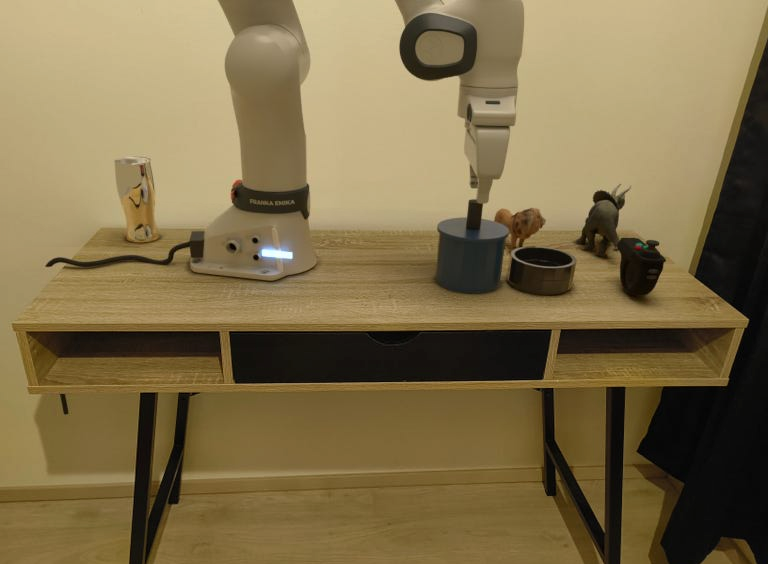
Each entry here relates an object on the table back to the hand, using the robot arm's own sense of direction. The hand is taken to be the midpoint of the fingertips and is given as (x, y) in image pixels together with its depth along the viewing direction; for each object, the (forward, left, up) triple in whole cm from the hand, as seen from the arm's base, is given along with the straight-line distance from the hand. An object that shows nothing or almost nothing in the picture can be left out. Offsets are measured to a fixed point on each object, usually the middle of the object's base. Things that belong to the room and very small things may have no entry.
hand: (478, 194), depth 111 cm
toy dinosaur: (+28, +20, -15) cm, 38 cm away
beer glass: (-62, +17, -15) cm, 66 cm away
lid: (0, 0, -6) cm, 6 cm away
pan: (+12, 0, -15) cm, 20 cm away
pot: (0, 0, -15) cm, 15 cm away
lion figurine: (+11, +20, -15) cm, 27 cm away
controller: (+28, -2, -15) cm, 32 cm away
